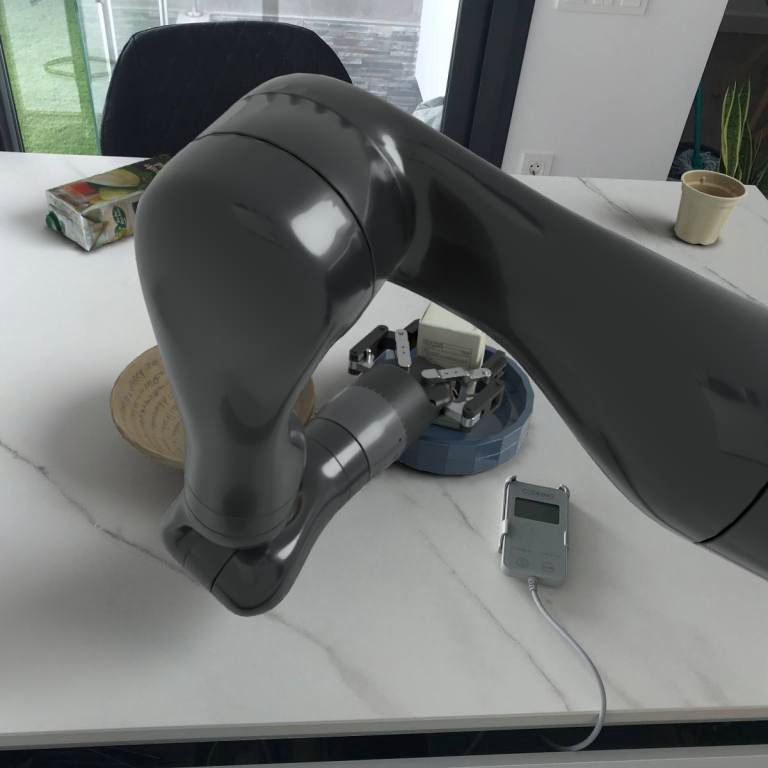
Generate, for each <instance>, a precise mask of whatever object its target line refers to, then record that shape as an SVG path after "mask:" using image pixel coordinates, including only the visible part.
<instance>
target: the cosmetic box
mask: <svg viewBox="0 0 768 768" xmlns="http://www.w3.org/2000/svg"><path fill="white" fill-rule="evenodd" d="M419 319H420V321H419V329H418V340H417V351H416V357H417V356H418V355H419V356H421V357H423V358H425V359H427V360H428V361H429V362H431V363H434V364H437V365H440V366H442V367H444V368H446V369H450V368H457V367H464V368H465V369H466V370H472V369H479V368H481V366H482V363H483V357H484V351H485V345H487V338H488V335H486V334H485V333H484V332H482V331H481V330H479V329H478V328H476V327H475V326H473V325H472V324H470V323H469V322H467V321H465V320H464V319H462V318H460V317H458V316H456V315H455V314H453V313H451V312H449V311H448V310H446V309H444V308H442V307H440V306H439V305H437V304H435V303H433V302H432V301H430V302H429V304H427V306H426V308H425V310H424V312H423V313H422V314H421V317H420V318H419ZM450 382H451V390H452V391H453V390H454V388H455V383H456V381H450ZM476 382H477V381H475V382H470V383H469V385H468V386H470V385H476ZM472 398H473V397H472ZM472 398H471V399H472ZM432 423H434V424H438V425H442V426H446V427H450V428H454V429H458V430H460V429H459V425H460V422H458V421H456V420H455V419H453V418H451V417H449V416H448V415H446V416H443V417H440V418H437V419H435V420H434V421H433V422H432Z"/></svg>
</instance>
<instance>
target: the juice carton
mask: <svg viewBox="0 0 768 768" xmlns="http://www.w3.org/2000/svg"><path fill="white" fill-rule="evenodd" d="M171 158H173V157H172V156H170V155H169V154H166V153H161V154H158V155H156V156H152V157H150V158H147V159H144V160H139V161H137V162H132V163H129V164H125V165H123V166H119V167H117V168H113V169H111V170H108V171H105V172H102V173H97V174H94V175H92V176H89V177H86V178H80V179H78V180H75V181H72V182H68V183H65V184H61V185H59V186H55V187H52V188H49V189H46V190H45V197H46V205H47V209H48V214H46V215H45V224H46V226H47V227H48V228H50V229H53V230H55V232H58V233H60V234H62V235H64V236H65V237H66V238H68V239H70V240H71V241H73V242H76V244H78V245H79V246H81V247H82V248H83V249H84V250H85V251H88V252H90V251H93V250H96V249H99V248H101V247H102V246H103V245H107V244H110V243H113V242H116V241H118V240H120V239H123V238H125V237H127V236H131V235H134V220H135V215H136V210H137V206H138V203H139V200H140V198H141V196H142V194H143V193H144V191H145V190H146V188H147V187H148V186H149V184H150V183H151V181H152V180H153V179H154V178H155V176H156V175H157V174H158V172H159V171H160V170H161V169H162V168H163V167H164V166H165V164H166V163H167V162H168V161H169V160H170V159H171Z"/></svg>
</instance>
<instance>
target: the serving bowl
mask: <svg viewBox="0 0 768 768" xmlns="http://www.w3.org/2000/svg"><path fill="white" fill-rule="evenodd" d="M497 350H498V349H497V348H495V347H493V346H491V345H487V344H486V345H485V351H484V357H483V363H482V365H483V364H484V363H485V362H486V361H487V360H488V359H489V358H490V357H491V356H492V355H493V354H494V353H495V352H496V351H497ZM416 351H417V346H416V347H415V348H413V349H412V350H411V351H410V356H415V357H416ZM392 358H393V350H389V349H386V350H385V351H384V352H383V353H382V354H381V355H380V356H379V357H378V358H377V359H375V360H374V363H375V362H377V361H380V360H386V359H392ZM505 358H506V359H507V362H506V367H505V372H504V374H503V375H502V376H501V377H500V378H499V379H500V380H502V381H504V382H505V387H504V392H503V396H502V401H501V405H500V406H499V407H498V408H497V409H496V410H495V411H494V412H493V413H492V414H490V415H489V416H488V417H487V418H486V419H485V420H484V421H483V422H482V423H480V424H479V425H478V426H477V427H476V428H475V429H474V430H473V431H472V432H470V433H463V432H461V431H460V430H458V429H454V428H450V427H446V426H442V425H438V424H434V423H431V425H430V426H429V427H428V428H427V430H426V431H425V432H424V433H423V434H422V435H421V436H420V437H419V438H418V439H416V440H415V441H414V442H413V443H412V444H411V445H410V446H409V447H408V448H407V449H406V450H405V451H404V452H403V453H402V454H401V455H400V457H399V458H398V459H397V460H396V461H397V462H400V463H402V464H404V465H406V466H408V467H411V468H412V469H415V470H418V471H425V472H429V473H434V474H439V475H446V476H448V475H449V476H450V475H473V474H476V473H480V472H484V471H488V470H491V469H494V468H497V467H499V466H500V465H502V464H503V463H505V462H507V461H508V460H510V459H512V458H513V457H514V456H515V455H516V454H517V452H518V451H519V450H520V448H521V446H522V445H523V444H524V443H525V441H526V438H527V434H528V431H529V428H530V423H531V419H532V416H533V412H534V404H535V391H534V389H533V387H532V384H531V381H530V377H529V375H528V374H527V373H526V372H525V370H524V369H523V368H522V367H521V366H520V365H518V363H517V361H516V360H515V359H512V357H511V358H510V357H509V356H508V355H506V354H505ZM362 374H363V373H362V372H361V375H362Z"/></svg>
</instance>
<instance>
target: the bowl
mask: <svg viewBox="0 0 768 768" xmlns="http://www.w3.org/2000/svg"><path fill="white" fill-rule="evenodd" d="M109 396H110V397H109V408H110V414H111V418H112V422H113V424H114V425H115V428H116V429H117V431H118V432H119V434H120V436H121V437H123V439H124V440H125V441H126V442H127V443H128V444H130V445H131V446H132V447H133V448H135V449H136V450H137V451H139V452H140V453H142V454H143V455H144V456H146V457H148V458H150V459H151V460H153V461H156V462H158V463H159V464H162V465H165V466H168V467H171V468H175V469H179V470H183V471H184V460H185V443H184V432H183V427H182V423H181V419H180V416H179V413H178V409H177V406H176V403H175V399H174V396H173V394H172V391H171V388H170V385H169V382H168V379H167V376H166V372H165V369H164V365H163V362H162V358H161V355H160V351H159V348H158V344H156V345H154V346H152V347H149V348H148V349H146V350H145V351H143V352H142V353H141V354H140V355H138V356H136V357H135V358H134V359H133V360H132V361H131V362H130V363H128V364H127V365H126V367H125V368H124V369H123V370H122V371H121V372H120V374H119V375H118V377H117V378H116V380H115V381H114V383H113V386H112V387H111V392H110V395H109ZM316 400H317V389H316V385H315V381H314V378H313V375H312V376H311V378H310V379H309V381H308V383H307V384H306V386H305V388H304V390H303V391H302V393H301V395H300V397H299V398H298V400H297V402H296V404H295V406H294V409H295V410H296V412H297V413H298V415H299V417H300V419H301V422H302V424H303V426H304V425H305V424H306V423H308V421H310V420H311V419H312V417H313V412H314V410H315V405H316Z"/></svg>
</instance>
